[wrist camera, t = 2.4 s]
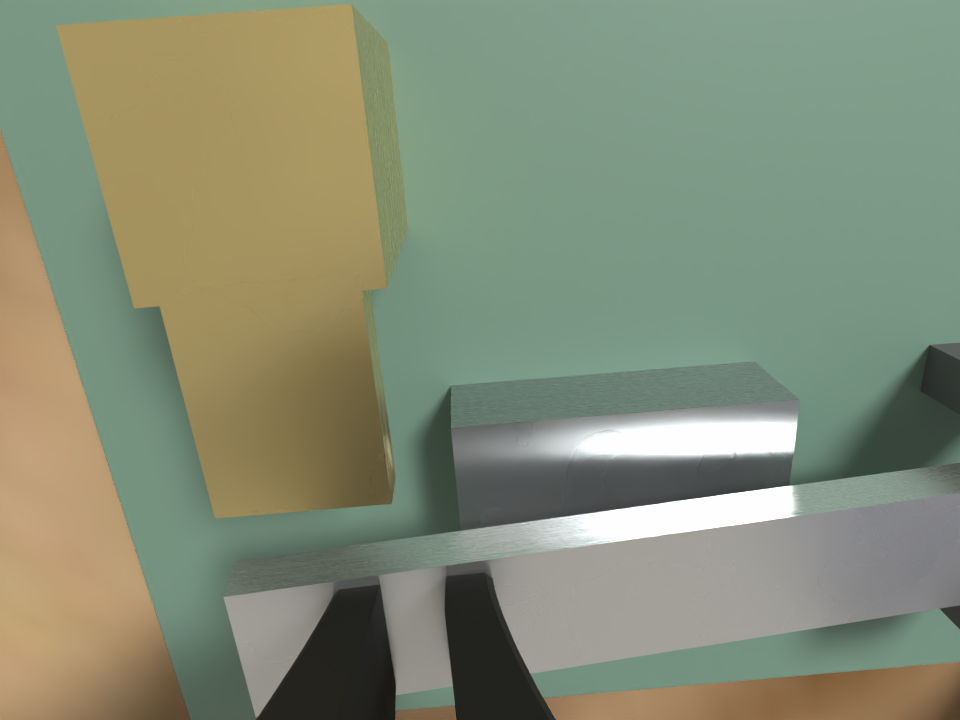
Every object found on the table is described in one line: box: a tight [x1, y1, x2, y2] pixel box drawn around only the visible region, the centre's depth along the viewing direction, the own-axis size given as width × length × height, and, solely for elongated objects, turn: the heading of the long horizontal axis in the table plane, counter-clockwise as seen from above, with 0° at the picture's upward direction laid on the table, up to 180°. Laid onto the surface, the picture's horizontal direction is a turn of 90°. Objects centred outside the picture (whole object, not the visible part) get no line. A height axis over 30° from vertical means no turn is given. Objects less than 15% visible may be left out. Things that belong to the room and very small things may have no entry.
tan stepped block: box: [56, 4, 408, 518], centre depth 10 cm, size 3×6×4 cm, turn 4°
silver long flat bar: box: [224, 463, 960, 717], centre depth 11 cm, size 14×2×1 cm, turn 94°
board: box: [0, 0, 960, 720], centre depth 12 cm, size 20×16×5 cm
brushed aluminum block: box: [451, 361, 800, 531], centre depth 13 cm, size 6×5×2 cm
